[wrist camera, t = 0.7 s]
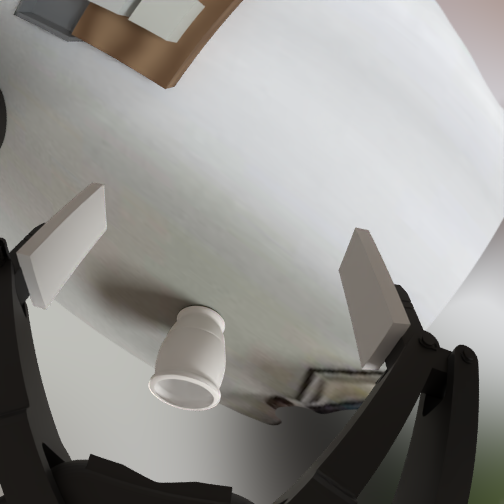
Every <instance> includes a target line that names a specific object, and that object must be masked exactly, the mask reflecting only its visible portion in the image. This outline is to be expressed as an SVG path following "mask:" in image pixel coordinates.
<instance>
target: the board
mask: <svg viewBox="0 0 504 504" xmlns="http://www.w3.org/2000/svg"><path fill="white" fill-rule="evenodd" d="M198 1H199V2H200V3H202V4H203V5H204V6H205V7H204V9H203V10H202V11H201V12H200V13H199V15H198V16H197V17H196V18H195V20H194V21H193V22H192V23H191V25H190V26H189V27H188V28H187V30H186V31H185V32H184V34H183V35H182V36H181V38H180V39H179V40H178V42H177V43H176V42H171V41H166V40H164V39H163V38H161V37H159V36H157V35H156V34H154V33H152V32H150V31H148V30H147V29H145V28H143V27H141V26H139V25H137V24H135V23H133V22H132V21H130V20H128V19H129V17H127V16H123V15H118V14H116V13H114V12H112V11H110V10H108V9H105V8H103V7H101V6H99V5H97V4H95V3H92V2H90V3H89V5H88V7H87V8H86V10H85V11H84V13H83V15H82V16H81V18H80V20H79V22H78V23H77V25H76V27H75V29H74V30H73V32H72V35H73V36H75V37H77V38H79V39H81V40H83V41H85V42H87V43H88V44H90V45H92V46H94V47H96V48H98V49H99V50H101V51H103V52H105V53H106V54H108V55H110V56H112V57H113V58H115V59H117V60H119V61H120V62H122V63H124V64H125V65H127V66H129V67H130V68H132V69H134V70H135V71H137V72H139V73H140V74H142V75H144V76H145V77H147V78H148V79H150V80H152V81H153V82H155V83H156V84H158V85H160V86H161V87H163V88H164V89H167V88H171V87H175V85H176V84H177V82H178V81H179V79H180V78H181V77H182V75H183V74H184V72H185V71H186V70H187V68H188V67H189V66H190V64H191V63H192V61H193V60H194V59H195V57H196V56H197V55H198V54H199V52H200V51H201V50H202V48H203V47H204V46H205V45H206V43H207V42H208V41H209V39H210V38H211V37H212V36H213V35H214V33H215V32H216V31H217V30H218V28H219V27H220V26H221V25H222V24H223V22H224V21H225V20H226V19H227V18H228V17H229V15H230V14H231V13H232V12H233V11H234V10H235V9H236V8H237V6H238V5H239V4H240V3H241V2H242V1H243V0H198Z"/></svg>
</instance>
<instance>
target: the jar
mask: <svg viewBox="0 0 504 504" xmlns="http://www.w3.org/2000/svg"><path fill="white" fill-rule="evenodd" d="M224 329H225V323H224V320H223V318H222V317H221V316H220V315H219V314H218V313H217V312H216V311H214V310H212V309H210V308H207V307H203V306H190V307H186V308H184V309H182V310H181V311H180V312H179V313H178V315H177V322H176V323H175V324H174V325H173V326H172V328H171V329H170V331H169V332H168V334H167V337H166V338H165V340H164V341H163V343H162V345H161V347H160V350H159V352H158V356H157V360H156V366H155V374H154V375H153V376H152V377H151V379H150V382H149V389H150V391H151V392H152V394H153V395H154V396H155V397H157V398H158V399H159V400H161V401H163V402H164V403H166V404H169V405H171V406H174V407H177V408H180V409H186V410H196V411H200V410H208V409H211V408H213V407H215V406H217V404H218V403H219V402H220V398H221V394H220V391H219V388H220V386H221V383H222V380H223V376H224V372H225V364H226V355H225V340H224V335H223V332H224Z"/></svg>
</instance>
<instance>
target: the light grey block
mask: <svg viewBox="0 0 504 504" xmlns="http://www.w3.org/2000/svg"><path fill="white" fill-rule="evenodd" d="M88 1H90V2H92V3H95V4H97V5H99V6H101V7H103V8H105V9H108V10H110V11H112V12H114V13H116V14H118V15H123V16H127V17H130V16H131V15H132V13H133V12H134V10H135V9H136V7H137V6H138V5H139V3H140V2H141V1H142V0H88Z"/></svg>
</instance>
